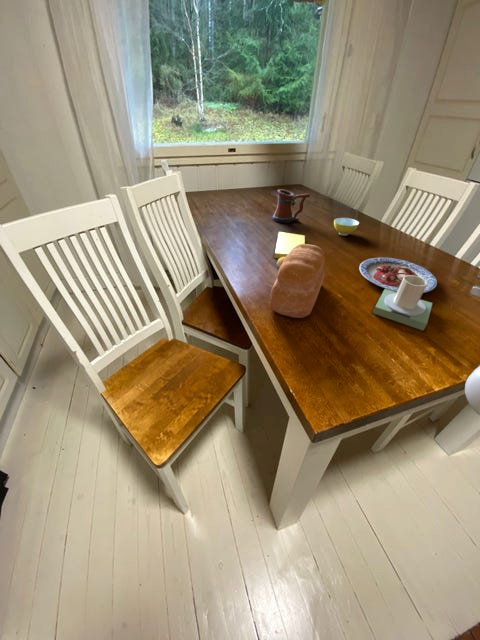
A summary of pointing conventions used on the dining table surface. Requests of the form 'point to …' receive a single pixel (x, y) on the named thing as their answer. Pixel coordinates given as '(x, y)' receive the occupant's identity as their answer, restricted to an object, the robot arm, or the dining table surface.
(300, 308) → the bread
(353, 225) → the bowl
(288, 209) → the mug
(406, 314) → the scale
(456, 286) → the dining table surface
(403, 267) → the ceramic plate
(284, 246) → the pale yellow flat slab
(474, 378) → the robot arm
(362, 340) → the dining table surface
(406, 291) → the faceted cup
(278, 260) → the bread roll
